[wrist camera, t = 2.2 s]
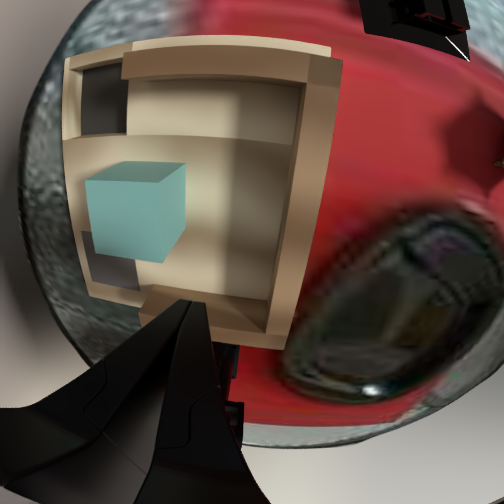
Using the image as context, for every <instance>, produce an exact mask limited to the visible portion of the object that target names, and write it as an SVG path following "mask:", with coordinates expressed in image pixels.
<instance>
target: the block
mask: <svg viewBox="0 0 504 504" xmlns="http://www.w3.org/2000/svg"><path fill="white" fill-rule="evenodd" d="M85 187H86V196H87V204H88V212H89V219H90V225H91V231H92V237H93V242H94V247H95V252H96V253H99V254H104V255H111V256H117V257H123V258H129V259H135V260H142V261H148V262H155V263H161V264H162V263H163V262H164V260H165V259H166V257H167V256H168V254H169V252H170V251H171V249H172V248H173V246H174V245H175V243H176V242H177V240H178V239H179V237H180V236H181V234H182V233H183V231H184V230H185V199H186V163H177V162H154V161H123V162H120V163H118V164H116V165H114V166H112V167H110V168H108V169H106V170H104V171H102V172H100V173H98V174H96V175H94V176H92V177H90V178H88V179H86V180H85Z"/></svg>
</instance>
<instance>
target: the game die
mask: <svg viewBox="0 0 504 504" xmlns="http://www.w3.org/2000/svg"><path fill="white" fill-rule="evenodd" d="M494 165H495V166H497V167H500V166H503V167H504V157H503V160H502V162H500V161H496V163H495V164H494Z"/></svg>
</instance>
